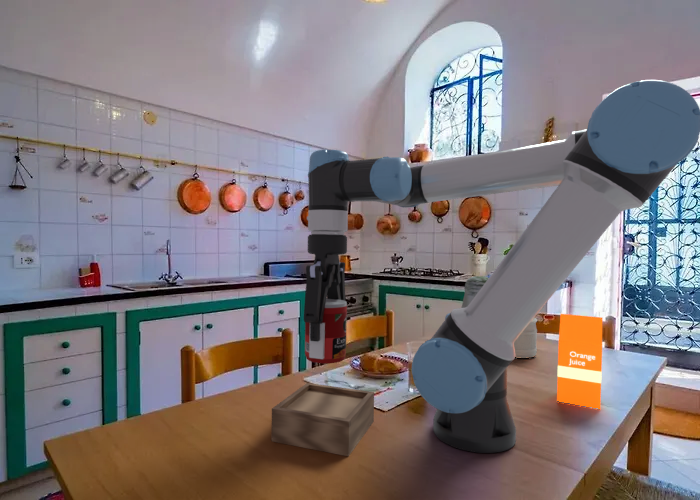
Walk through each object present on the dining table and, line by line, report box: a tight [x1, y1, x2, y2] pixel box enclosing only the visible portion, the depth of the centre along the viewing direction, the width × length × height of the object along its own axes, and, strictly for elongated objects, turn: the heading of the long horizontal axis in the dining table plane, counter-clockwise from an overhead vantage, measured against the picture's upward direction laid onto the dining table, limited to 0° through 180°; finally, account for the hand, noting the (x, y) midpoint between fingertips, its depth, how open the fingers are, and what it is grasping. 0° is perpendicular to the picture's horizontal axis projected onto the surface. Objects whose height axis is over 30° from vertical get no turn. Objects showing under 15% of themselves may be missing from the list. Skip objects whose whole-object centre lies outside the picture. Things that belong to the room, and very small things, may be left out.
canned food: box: [304, 298, 348, 365], centre depth 82 cm, size 8×8×11 cm
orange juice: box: [556, 313, 603, 410], centre depth 100 cm, size 8×9×20 cm
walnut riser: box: [270, 382, 375, 457], centre depth 83 cm, size 15×15×6 cm
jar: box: [514, 316, 538, 358], centre depth 140 cm, size 13×13×18 cm
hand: (325, 352), depth 82 cm, fingers closed on canned food, 8 cm apart
